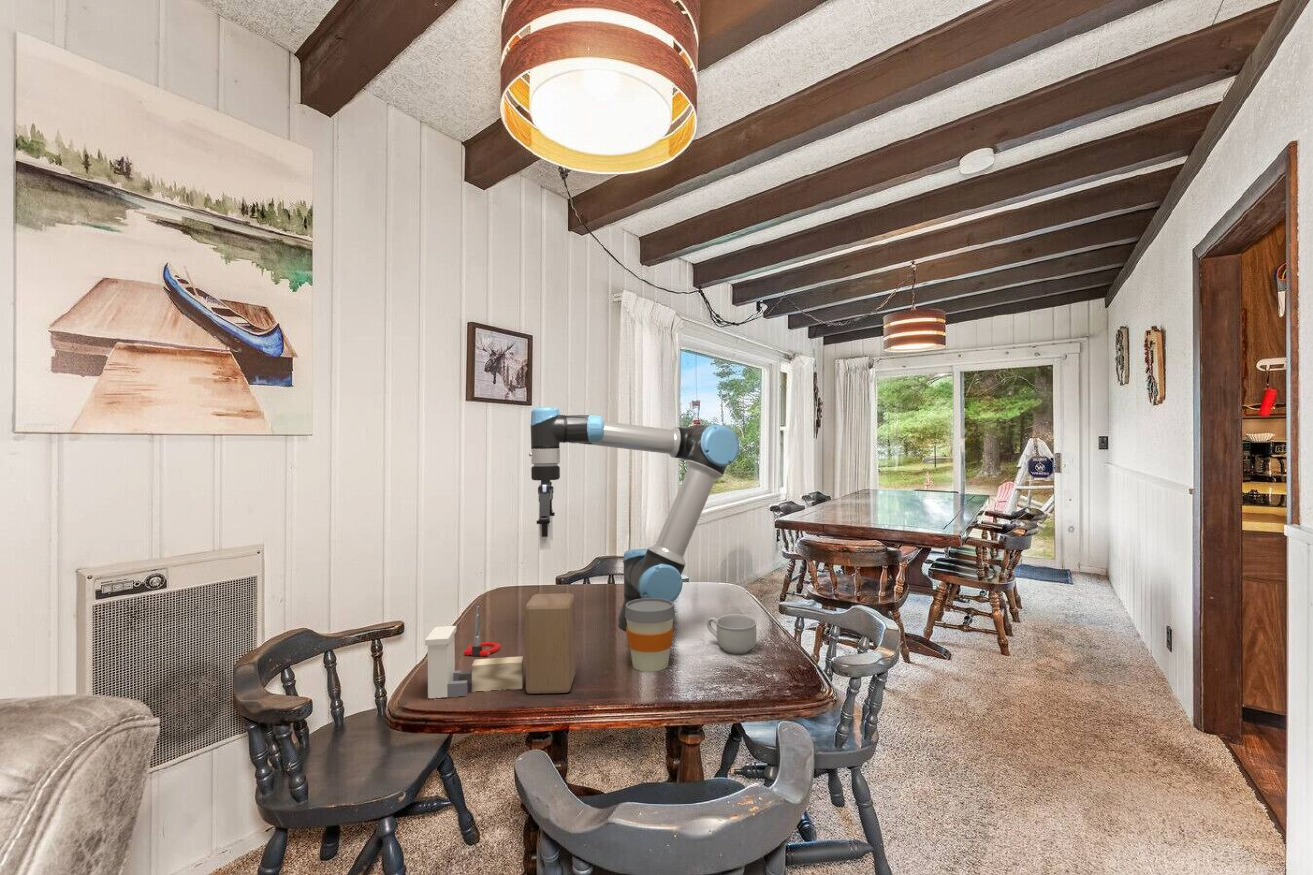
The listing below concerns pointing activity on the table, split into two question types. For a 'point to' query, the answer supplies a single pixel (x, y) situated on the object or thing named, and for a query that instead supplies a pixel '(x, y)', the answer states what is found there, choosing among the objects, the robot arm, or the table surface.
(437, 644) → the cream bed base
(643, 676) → the table surface
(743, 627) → the teacup
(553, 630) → the block
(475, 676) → the rail
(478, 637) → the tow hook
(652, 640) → the reusable coffee cup
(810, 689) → the table surface
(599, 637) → the table surface
